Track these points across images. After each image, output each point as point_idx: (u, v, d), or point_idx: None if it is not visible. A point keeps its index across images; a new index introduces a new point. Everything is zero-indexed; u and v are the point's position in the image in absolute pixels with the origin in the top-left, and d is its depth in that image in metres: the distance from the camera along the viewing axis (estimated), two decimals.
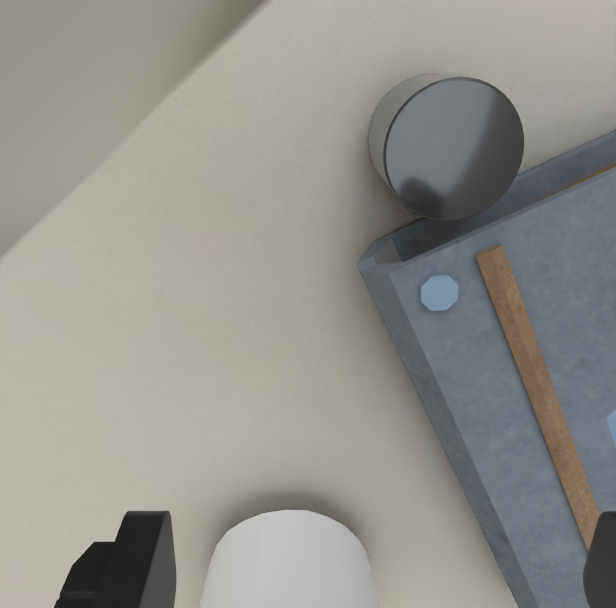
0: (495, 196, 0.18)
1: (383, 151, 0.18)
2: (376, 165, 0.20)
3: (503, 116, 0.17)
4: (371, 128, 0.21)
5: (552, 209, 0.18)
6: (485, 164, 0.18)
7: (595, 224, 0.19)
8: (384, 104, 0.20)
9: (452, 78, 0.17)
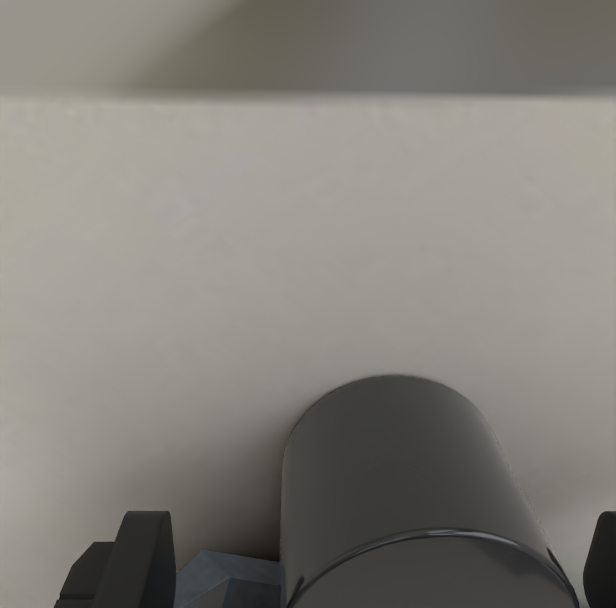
0: None
1: (315, 570, 0.08)
2: (287, 494, 0.10)
3: None
4: (322, 415, 0.11)
5: None
6: None
7: None
8: (371, 413, 0.10)
9: (530, 550, 0.08)
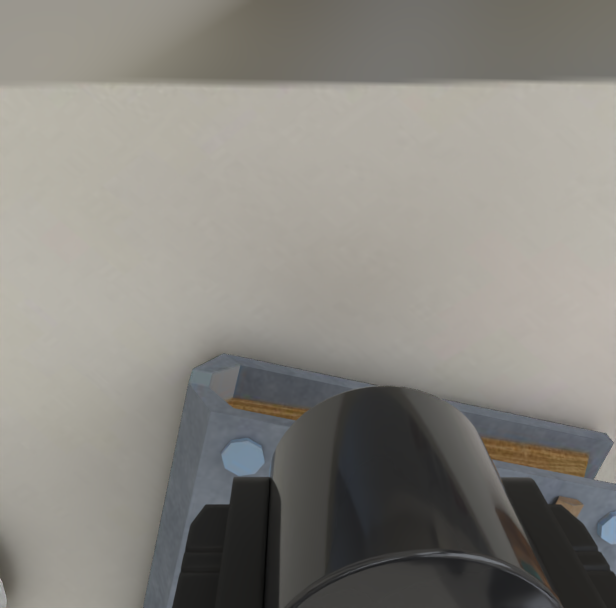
0: None
1: (297, 593, 0.07)
2: (271, 509, 0.10)
3: None
4: (309, 426, 0.10)
5: None
6: None
7: None
8: (358, 425, 0.10)
9: (521, 573, 0.07)
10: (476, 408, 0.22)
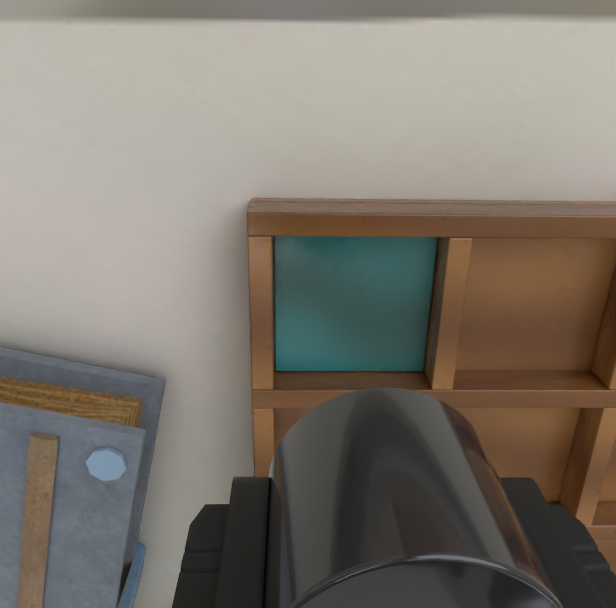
0: None
1: (297, 596, 0.07)
2: (271, 511, 0.10)
3: None
4: (309, 428, 0.10)
5: None
6: None
7: None
8: (358, 427, 0.10)
9: (522, 576, 0.07)
10: (22, 353, 0.22)
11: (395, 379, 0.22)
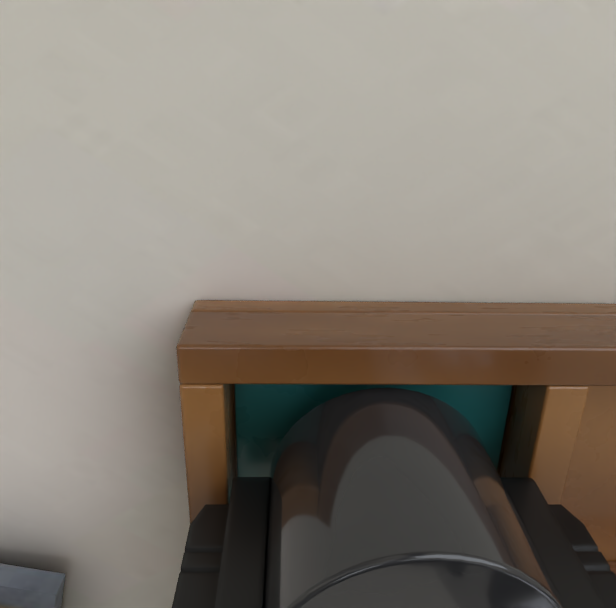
0: None
1: (297, 596, 0.07)
2: (271, 511, 0.10)
3: None
4: (309, 428, 0.10)
5: None
6: None
7: None
8: (358, 427, 0.10)
9: (522, 575, 0.07)
10: None
11: None
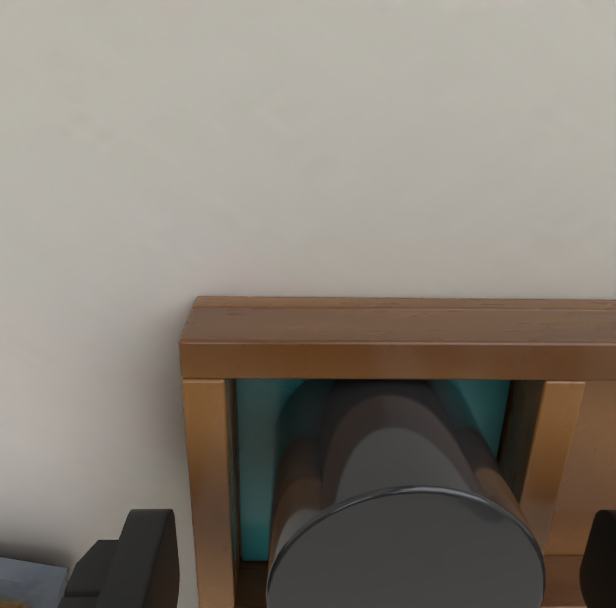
0: None
1: (300, 526, 0.08)
2: (277, 464, 0.11)
3: (518, 600, 0.09)
4: (310, 391, 0.11)
5: None
6: None
7: None
8: (355, 388, 0.11)
9: (497, 506, 0.08)
10: None
11: None
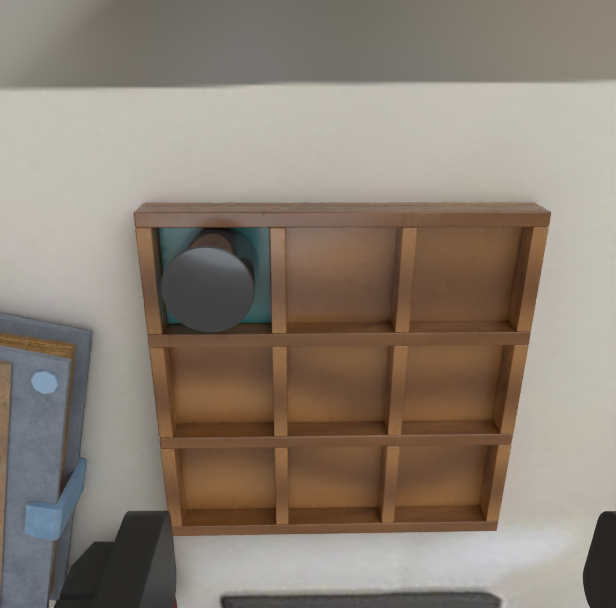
0: (216, 329, 0.28)
1: (170, 262, 0.27)
2: None
3: (245, 291, 0.27)
4: (186, 237, 0.30)
5: None
6: (220, 309, 0.27)
7: None
8: (200, 231, 0.29)
9: (230, 253, 0.26)
10: None
11: (250, 327, 0.32)
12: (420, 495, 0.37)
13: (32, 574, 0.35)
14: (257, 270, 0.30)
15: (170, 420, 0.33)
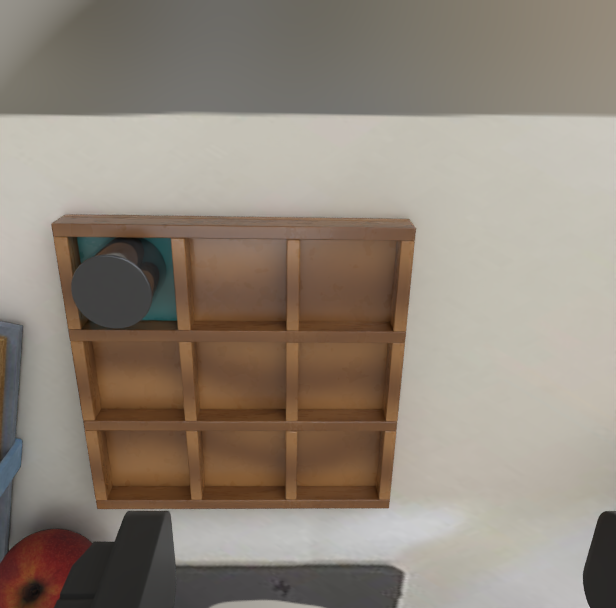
0: (120, 325, 0.32)
1: None
2: None
3: (144, 293, 0.31)
4: (100, 245, 0.34)
5: None
6: (123, 308, 0.32)
7: None
8: (110, 240, 0.33)
9: (129, 261, 0.31)
10: None
11: (160, 324, 0.36)
12: (323, 476, 0.42)
13: None
14: (162, 275, 0.34)
15: (92, 405, 0.37)
